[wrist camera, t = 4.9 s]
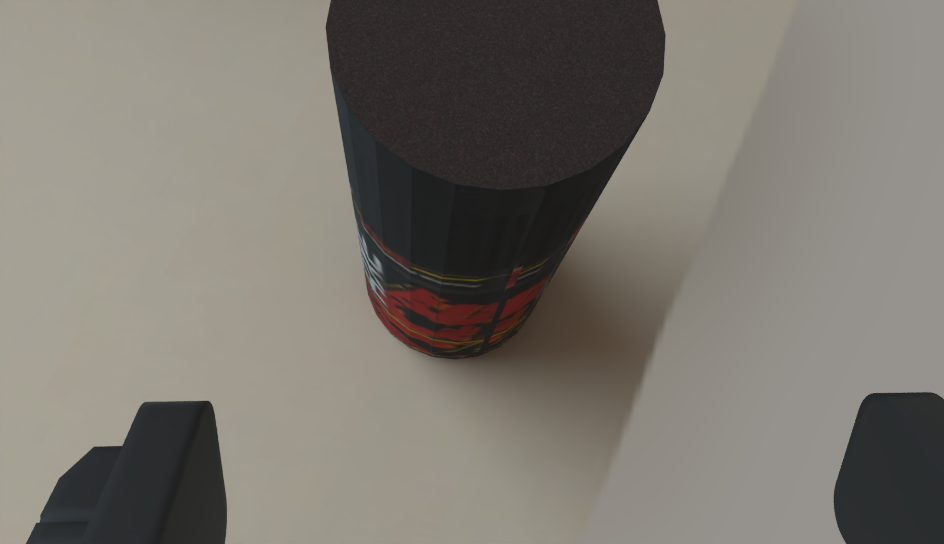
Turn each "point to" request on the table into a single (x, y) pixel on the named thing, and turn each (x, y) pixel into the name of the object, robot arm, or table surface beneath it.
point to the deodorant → (482, 148)
